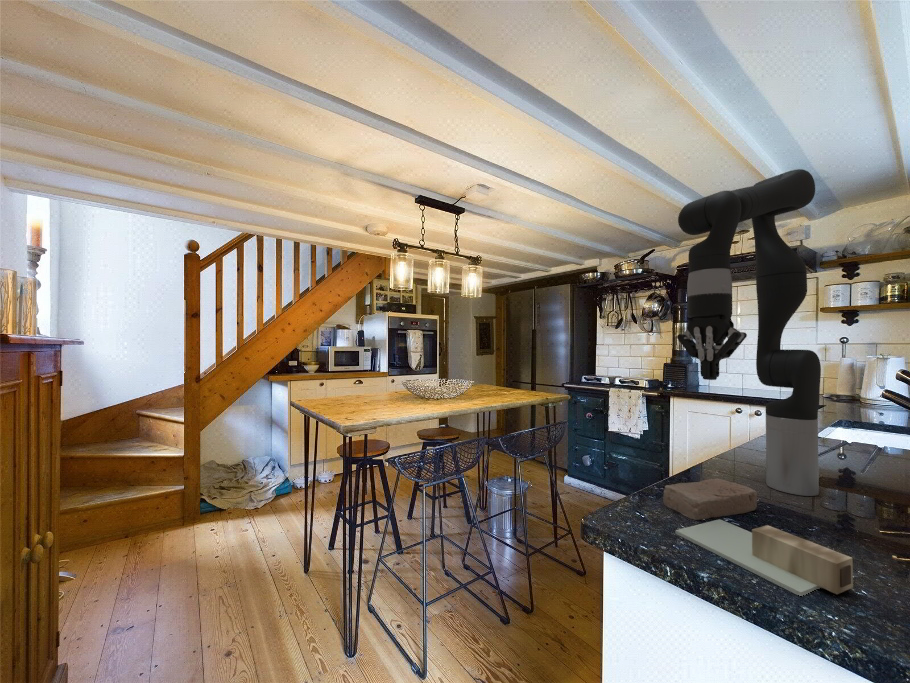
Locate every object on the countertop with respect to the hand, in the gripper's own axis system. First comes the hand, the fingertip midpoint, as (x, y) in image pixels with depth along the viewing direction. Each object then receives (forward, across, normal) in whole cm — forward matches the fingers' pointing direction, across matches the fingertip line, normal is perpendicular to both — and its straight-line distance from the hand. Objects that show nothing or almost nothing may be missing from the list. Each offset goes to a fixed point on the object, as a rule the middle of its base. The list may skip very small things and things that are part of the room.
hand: (709, 379), depth 74 cm
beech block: (+24, -13, +8) cm, 29 cm away
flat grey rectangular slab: (+27, -12, +8) cm, 31 cm away
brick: (+28, +2, -3) cm, 28 cm away
